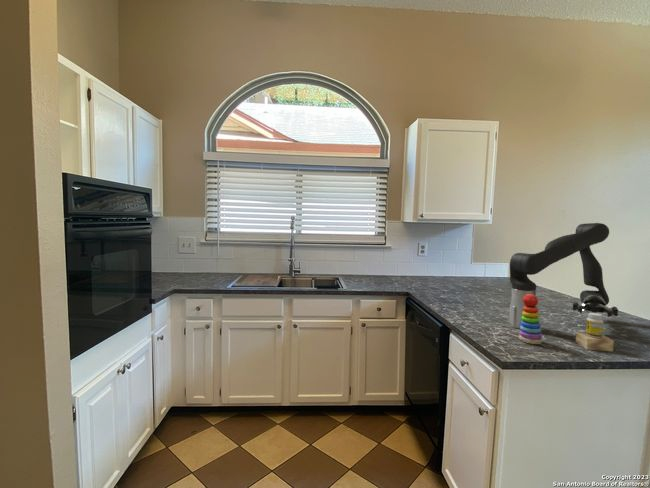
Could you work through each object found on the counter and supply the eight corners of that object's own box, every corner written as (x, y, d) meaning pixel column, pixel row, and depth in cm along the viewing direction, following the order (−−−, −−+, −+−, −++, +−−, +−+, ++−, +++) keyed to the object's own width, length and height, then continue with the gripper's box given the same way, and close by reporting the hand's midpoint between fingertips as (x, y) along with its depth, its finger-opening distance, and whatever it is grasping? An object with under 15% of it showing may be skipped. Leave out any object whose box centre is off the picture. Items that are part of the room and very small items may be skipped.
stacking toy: (537, 338, 126) (538, 292, 125) (546, 345, 119) (548, 297, 118) (515, 336, 128) (516, 291, 127) (523, 344, 120) (524, 296, 119)
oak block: (586, 349, 115) (587, 338, 115) (575, 341, 123) (576, 331, 123) (613, 351, 113) (613, 340, 113) (600, 343, 121) (600, 333, 120)
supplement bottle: (586, 332, 121) (586, 311, 121) (602, 335, 118) (603, 313, 118) (586, 336, 117) (587, 314, 117) (602, 339, 114) (604, 316, 114)
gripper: (574, 293, 142) (572, 300, 130) (616, 298, 133) (619, 306, 121) (573, 310, 143) (571, 318, 130) (615, 315, 134) (618, 325, 121)
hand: (594, 312), depth 126 cm, fingers open, 8 cm apart
